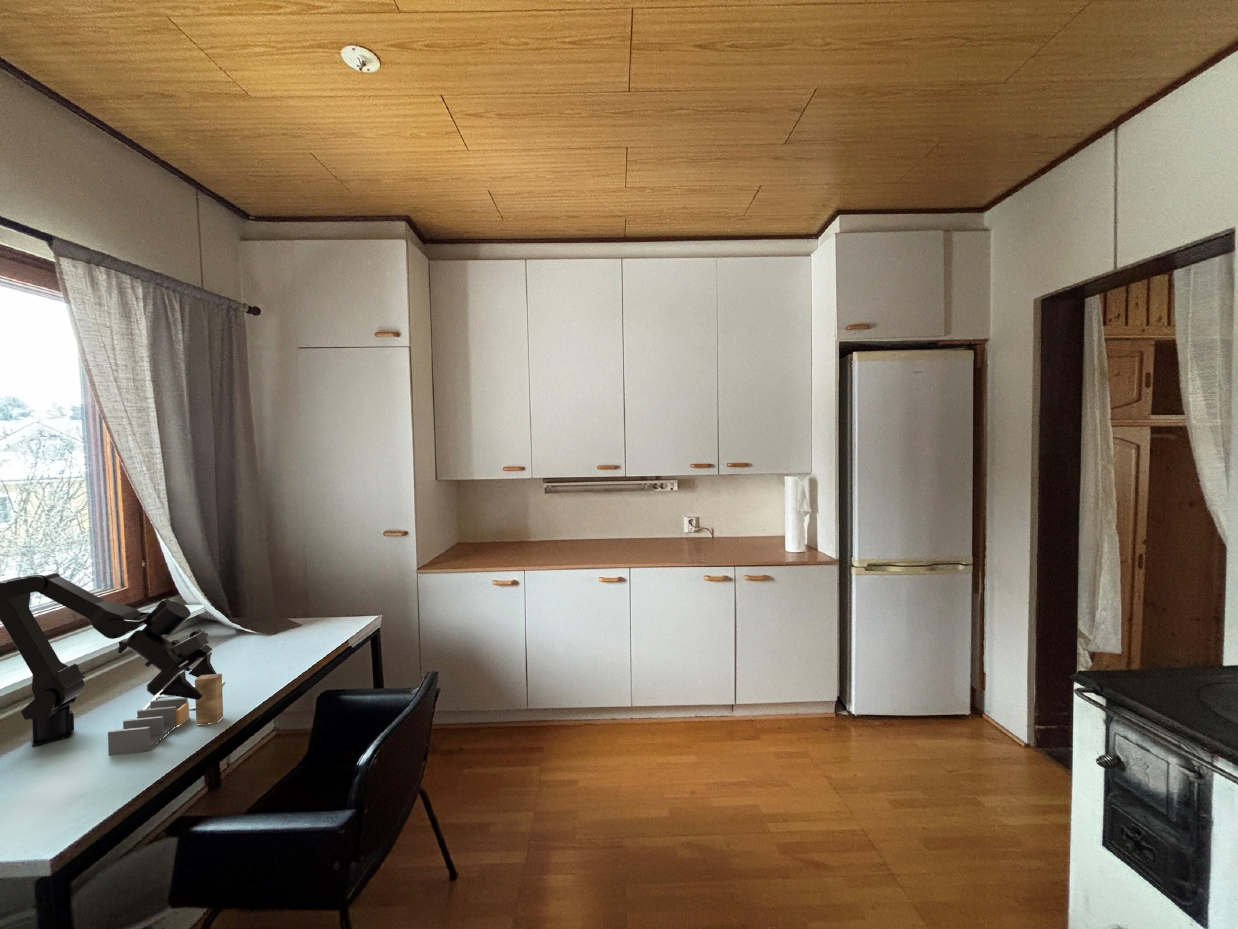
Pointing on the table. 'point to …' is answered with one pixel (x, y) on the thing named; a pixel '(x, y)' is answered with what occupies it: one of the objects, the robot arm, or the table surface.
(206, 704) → the wooden block
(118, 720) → the table surface
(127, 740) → the rack
